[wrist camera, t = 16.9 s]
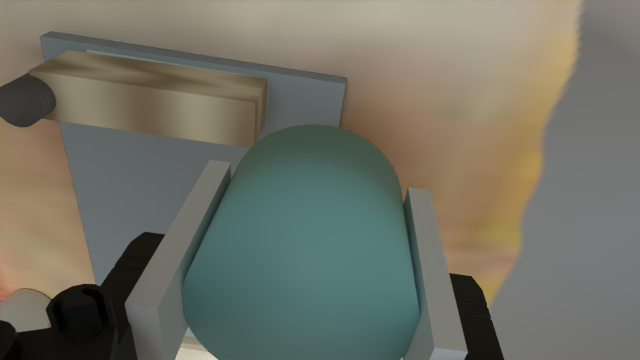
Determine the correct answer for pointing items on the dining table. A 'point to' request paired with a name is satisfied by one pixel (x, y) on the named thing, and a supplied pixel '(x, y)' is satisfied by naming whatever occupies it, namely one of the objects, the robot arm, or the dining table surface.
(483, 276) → the dining table surface
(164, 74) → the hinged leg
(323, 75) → the jig board
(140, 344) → the robot arm
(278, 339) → the teal egg shape
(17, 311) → the soft serve ice cream cone
